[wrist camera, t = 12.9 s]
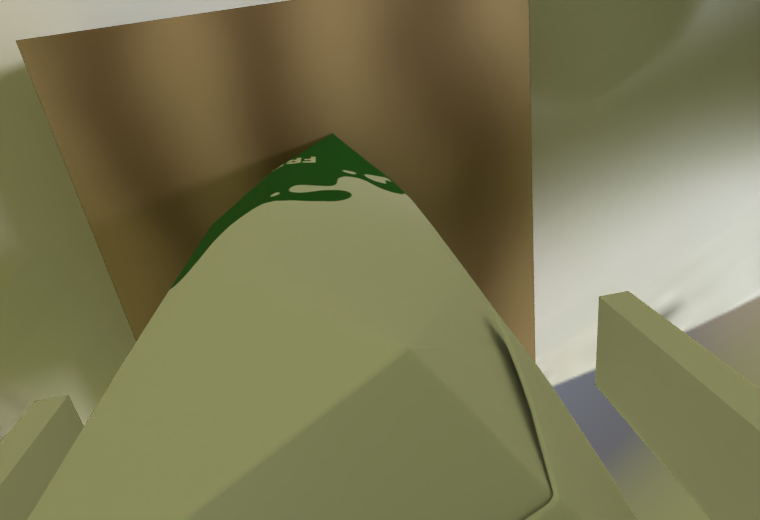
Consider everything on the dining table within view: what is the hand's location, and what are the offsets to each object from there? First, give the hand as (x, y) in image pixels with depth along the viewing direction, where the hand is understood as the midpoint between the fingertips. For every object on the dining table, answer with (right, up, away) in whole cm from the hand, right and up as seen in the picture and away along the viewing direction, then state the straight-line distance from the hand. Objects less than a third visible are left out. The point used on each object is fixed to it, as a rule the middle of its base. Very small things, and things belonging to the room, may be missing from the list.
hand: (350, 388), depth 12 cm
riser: (-2, +6, +15) cm, 16 cm away
